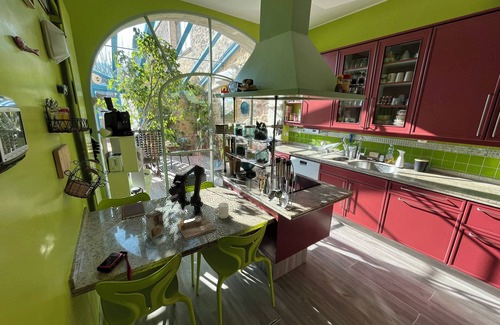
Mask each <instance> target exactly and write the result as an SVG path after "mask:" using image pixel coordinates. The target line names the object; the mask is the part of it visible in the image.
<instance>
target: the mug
mask: <svg viewBox="0 0 500 325" xmlns="http://www.w3.org/2000/svg"><path fill="white" fill-rule="evenodd" d="M229 207H230V206H229V203H227V202H219V203H218V205H217V207H215V208H214V210H213V213H214V214H213V215H215V216H217V217H218V218H219V219H227V218H228V217H229ZM217 210H218V211H217ZM216 212H218V213H216Z"/></svg>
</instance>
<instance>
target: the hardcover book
mask: <svg viewBox="0 0 500 325" xmlns="http://www.w3.org/2000/svg"><path fill="white" fill-rule="evenodd" d="M145 213H146V211H145V206H144V202H143V201H141V202H136V203H135V202H134V203H129V204H124V205H122V206H121V217H122V219H123V220H126V219H125V218H127V219H131V218H135V217H139V216H143V215H144V216H145V215H146V214H145ZM130 217H131V218H130Z"/></svg>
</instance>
